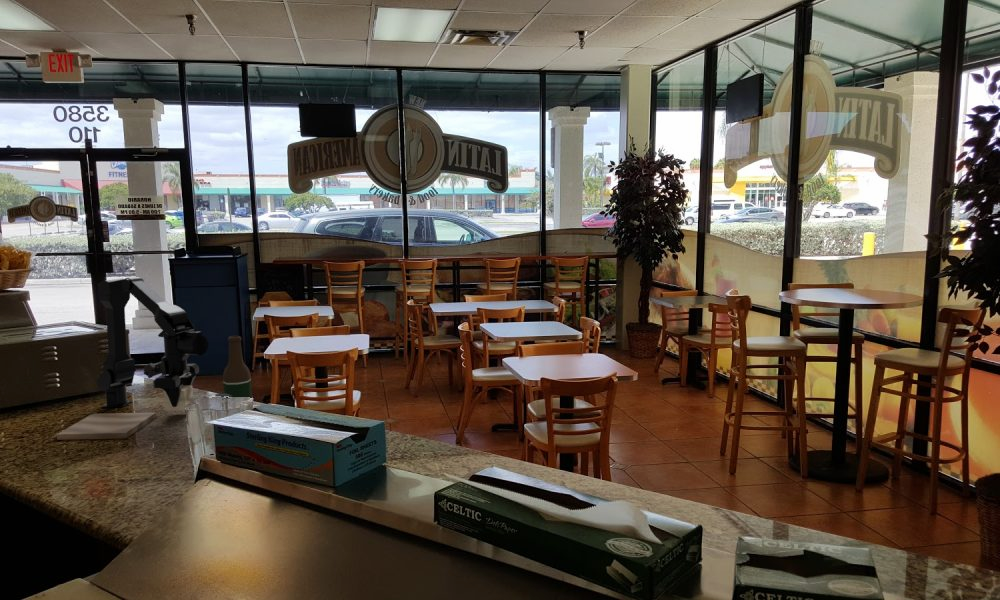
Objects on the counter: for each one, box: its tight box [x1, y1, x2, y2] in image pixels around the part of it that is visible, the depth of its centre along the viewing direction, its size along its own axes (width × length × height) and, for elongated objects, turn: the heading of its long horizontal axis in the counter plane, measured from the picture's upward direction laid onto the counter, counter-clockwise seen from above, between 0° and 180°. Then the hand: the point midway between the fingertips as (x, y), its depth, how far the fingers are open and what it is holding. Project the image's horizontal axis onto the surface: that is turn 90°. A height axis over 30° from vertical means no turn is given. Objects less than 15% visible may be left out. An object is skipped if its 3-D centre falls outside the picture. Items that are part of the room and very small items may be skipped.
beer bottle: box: [222, 335, 253, 399], centre depth 200 cm, size 8×8×24 cm
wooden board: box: [56, 412, 157, 441], centre depth 191 cm, size 18×18×2 cm
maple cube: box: [162, 384, 194, 412], centre depth 202 cm, size 6×6×6 cm
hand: (179, 403), depth 202 cm, fingers closed on maple cube, 6 cm apart
